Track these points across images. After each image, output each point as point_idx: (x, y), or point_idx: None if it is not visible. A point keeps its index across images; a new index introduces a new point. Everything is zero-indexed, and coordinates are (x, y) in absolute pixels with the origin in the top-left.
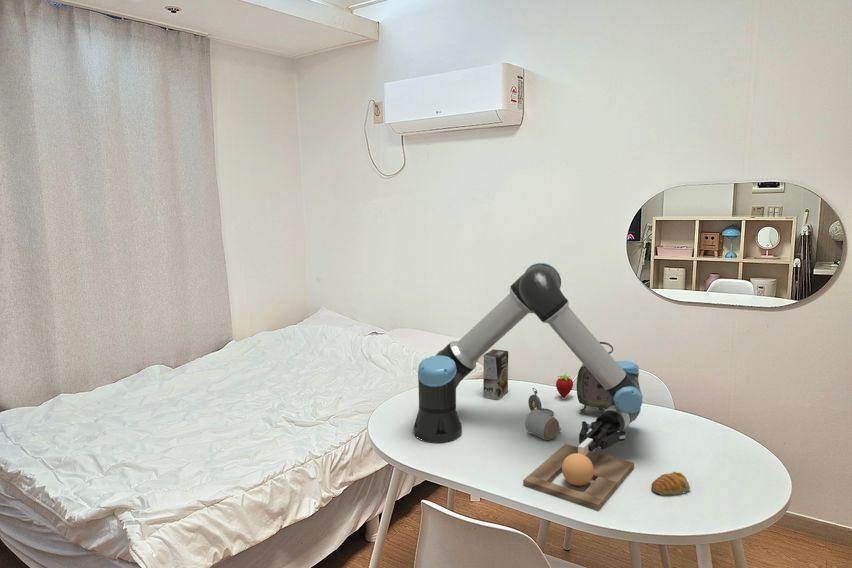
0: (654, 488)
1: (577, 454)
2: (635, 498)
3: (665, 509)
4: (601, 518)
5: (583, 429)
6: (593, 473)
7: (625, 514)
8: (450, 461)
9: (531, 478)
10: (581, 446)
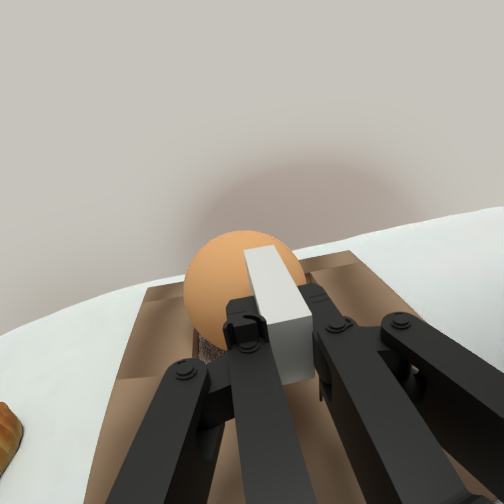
0: (9, 409)
1: (239, 234)
2: (70, 377)
3: (11, 372)
4: (140, 292)
5: (488, 384)
6: (187, 313)
7: (95, 321)
8: (493, 229)
9: (344, 260)
10: (259, 250)
